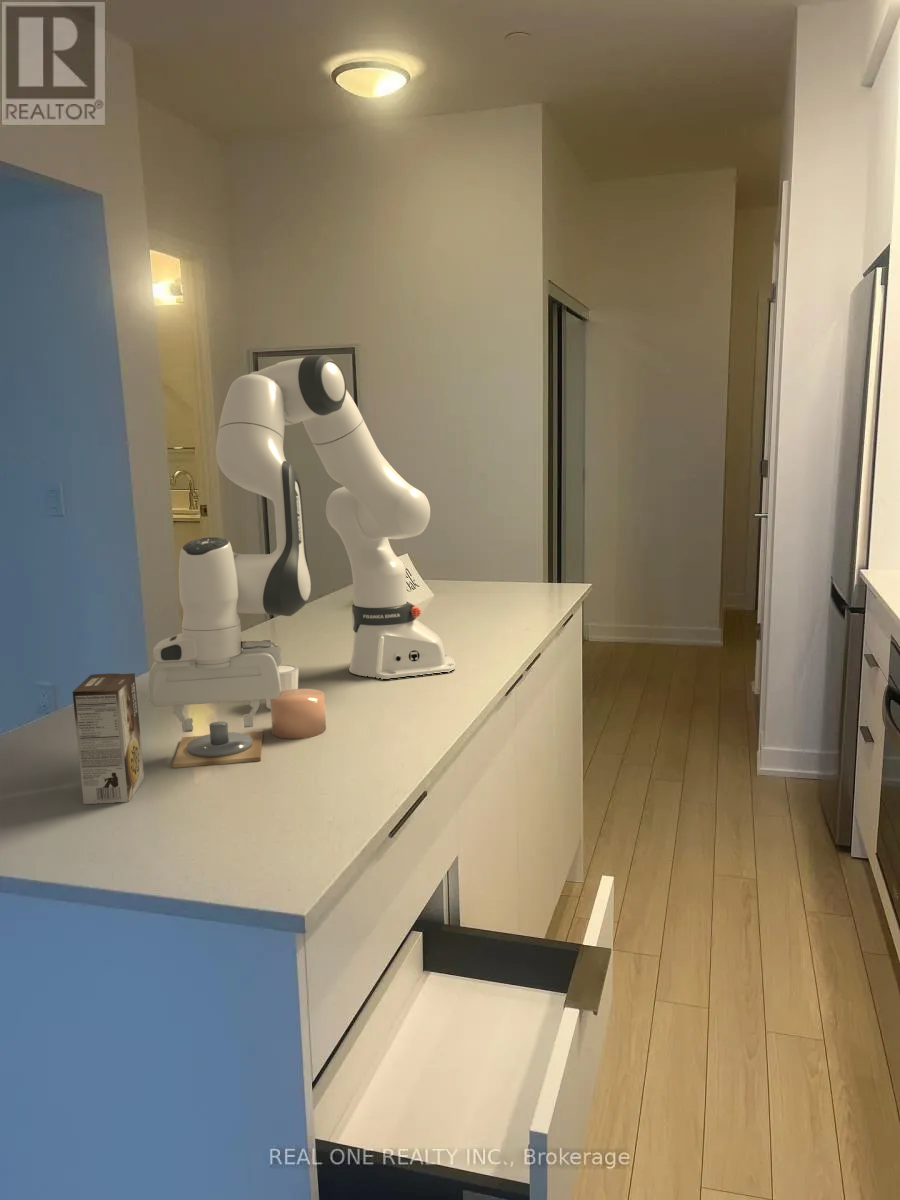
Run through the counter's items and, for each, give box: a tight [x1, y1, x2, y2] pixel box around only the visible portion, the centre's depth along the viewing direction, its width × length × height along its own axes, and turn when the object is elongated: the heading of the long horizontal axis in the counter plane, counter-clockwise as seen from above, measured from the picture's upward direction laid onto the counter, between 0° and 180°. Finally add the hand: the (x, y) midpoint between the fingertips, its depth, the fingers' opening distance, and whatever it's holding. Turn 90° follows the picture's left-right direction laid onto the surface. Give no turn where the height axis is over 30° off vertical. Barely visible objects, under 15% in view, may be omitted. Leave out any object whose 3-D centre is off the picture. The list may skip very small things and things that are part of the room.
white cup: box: [265, 664, 299, 710], centre depth 170 cm, size 7×7×7 cm
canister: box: [270, 688, 327, 740], centre depth 155 cm, size 9×9×6 cm
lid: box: [187, 720, 252, 758], centre depth 146 cm, size 10×10×4 cm
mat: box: [172, 730, 264, 768], centre depth 147 cm, size 13×13×1 cm
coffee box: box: [71, 672, 145, 805], centre depth 129 cm, size 9×6×16 cm
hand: (218, 728), depth 146 cm, fingers open, 8 cm apart
